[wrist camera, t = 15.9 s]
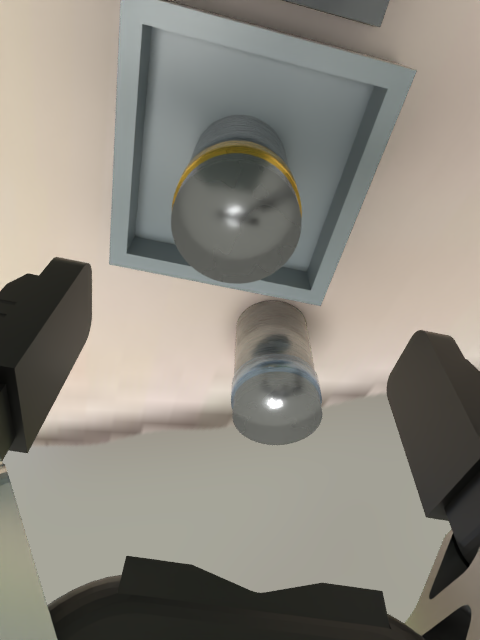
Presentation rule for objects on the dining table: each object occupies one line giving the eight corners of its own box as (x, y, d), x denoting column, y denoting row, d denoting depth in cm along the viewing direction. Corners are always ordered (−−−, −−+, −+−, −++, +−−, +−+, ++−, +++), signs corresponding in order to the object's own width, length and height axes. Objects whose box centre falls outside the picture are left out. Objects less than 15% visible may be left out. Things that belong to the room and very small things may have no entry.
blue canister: (318, 307, 25) (338, 392, 20) (295, 362, 28) (307, 452, 22) (243, 292, 25) (241, 376, 19) (227, 350, 28) (222, 438, 22)
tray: (398, 63, 18) (416, 70, 16) (314, 281, 24) (320, 306, 22) (136, -8, 17) (120, -10, 15) (121, 241, 23) (109, 264, 21)
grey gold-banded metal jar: (274, 220, 22) (283, 296, 16) (184, 201, 21) (160, 272, 15) (301, 125, 19) (323, 176, 13) (199, 101, 18) (176, 142, 13)
